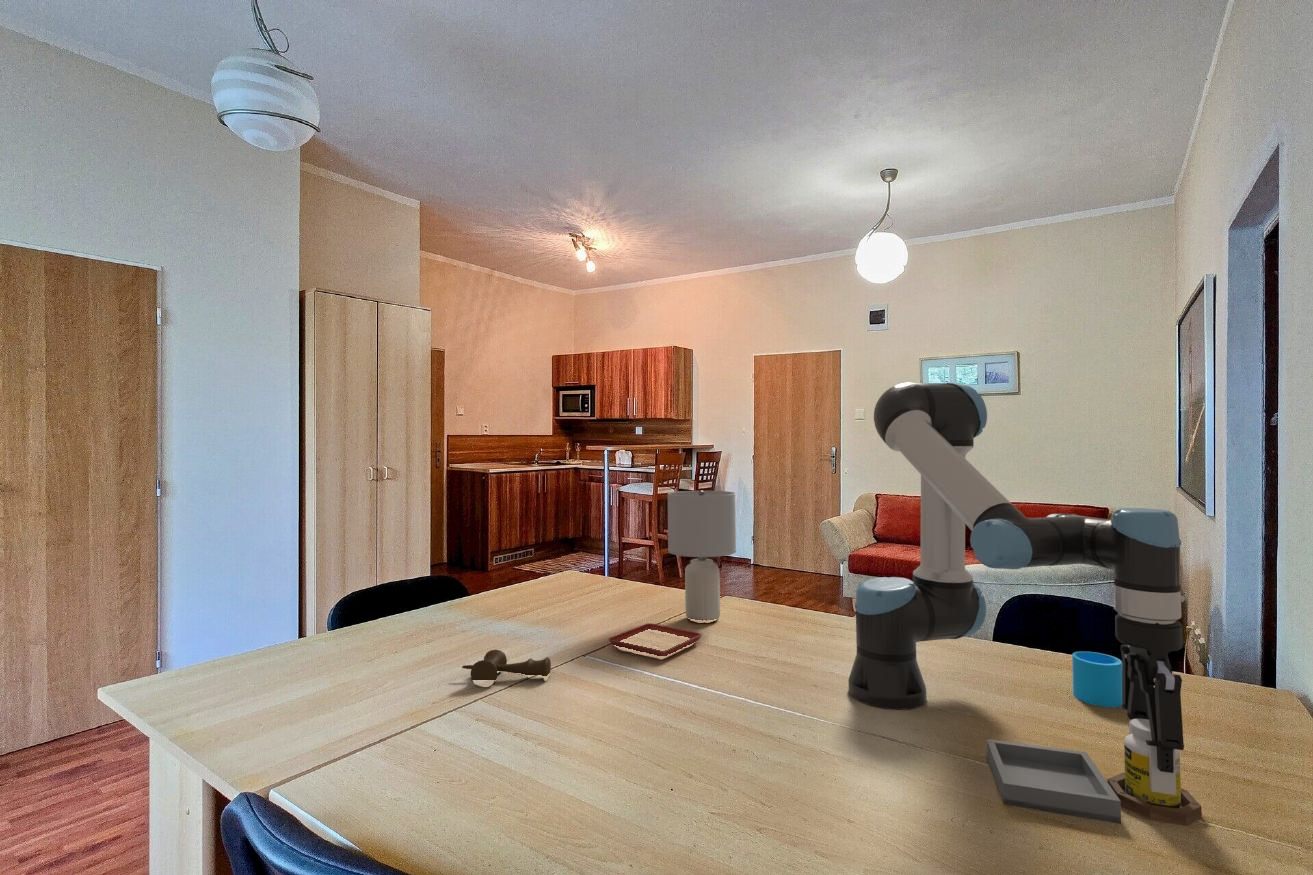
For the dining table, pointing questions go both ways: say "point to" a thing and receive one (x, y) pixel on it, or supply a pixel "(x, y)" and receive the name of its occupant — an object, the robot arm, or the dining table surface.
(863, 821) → the dining table surface
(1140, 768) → the pill bottle
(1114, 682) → the mug
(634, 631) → the plant saucer
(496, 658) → the kendama
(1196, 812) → the collar socket
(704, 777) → the dining table surface
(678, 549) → the lamp
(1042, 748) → the tray
